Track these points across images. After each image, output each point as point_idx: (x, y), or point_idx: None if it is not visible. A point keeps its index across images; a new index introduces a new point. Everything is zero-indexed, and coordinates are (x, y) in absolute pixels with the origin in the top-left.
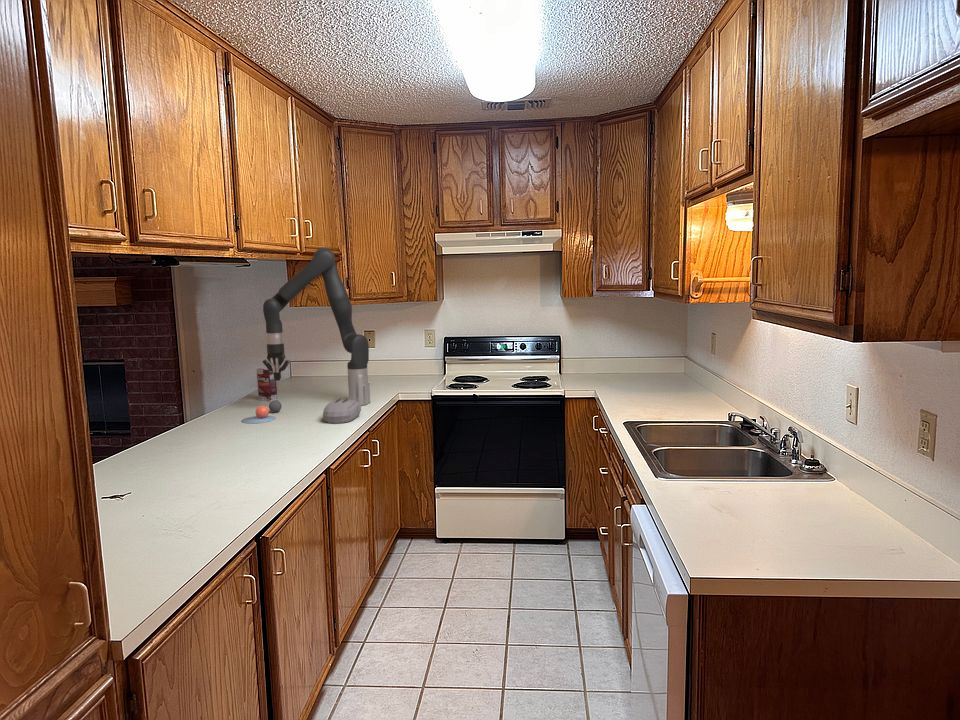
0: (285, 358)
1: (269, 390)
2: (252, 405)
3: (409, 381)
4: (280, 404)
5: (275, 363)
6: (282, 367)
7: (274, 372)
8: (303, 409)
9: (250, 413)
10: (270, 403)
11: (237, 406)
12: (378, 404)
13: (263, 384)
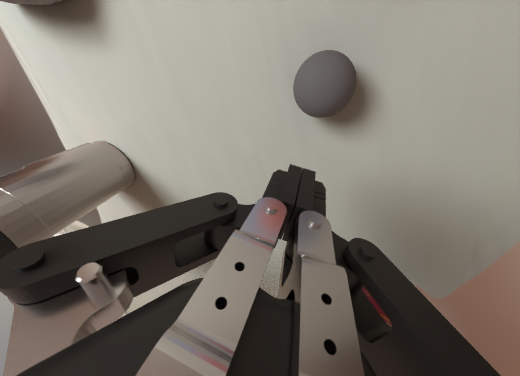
0: (14, 368)
1: (364, 292)
2: (423, 230)
3: (144, 302)
4: (294, 81)
5: (267, 318)
6: (183, 217)
7: (311, 211)
8: (227, 122)
9: (453, 72)
10: (346, 66)
11: (490, 232)
12: (69, 148)
13: (390, 325)
